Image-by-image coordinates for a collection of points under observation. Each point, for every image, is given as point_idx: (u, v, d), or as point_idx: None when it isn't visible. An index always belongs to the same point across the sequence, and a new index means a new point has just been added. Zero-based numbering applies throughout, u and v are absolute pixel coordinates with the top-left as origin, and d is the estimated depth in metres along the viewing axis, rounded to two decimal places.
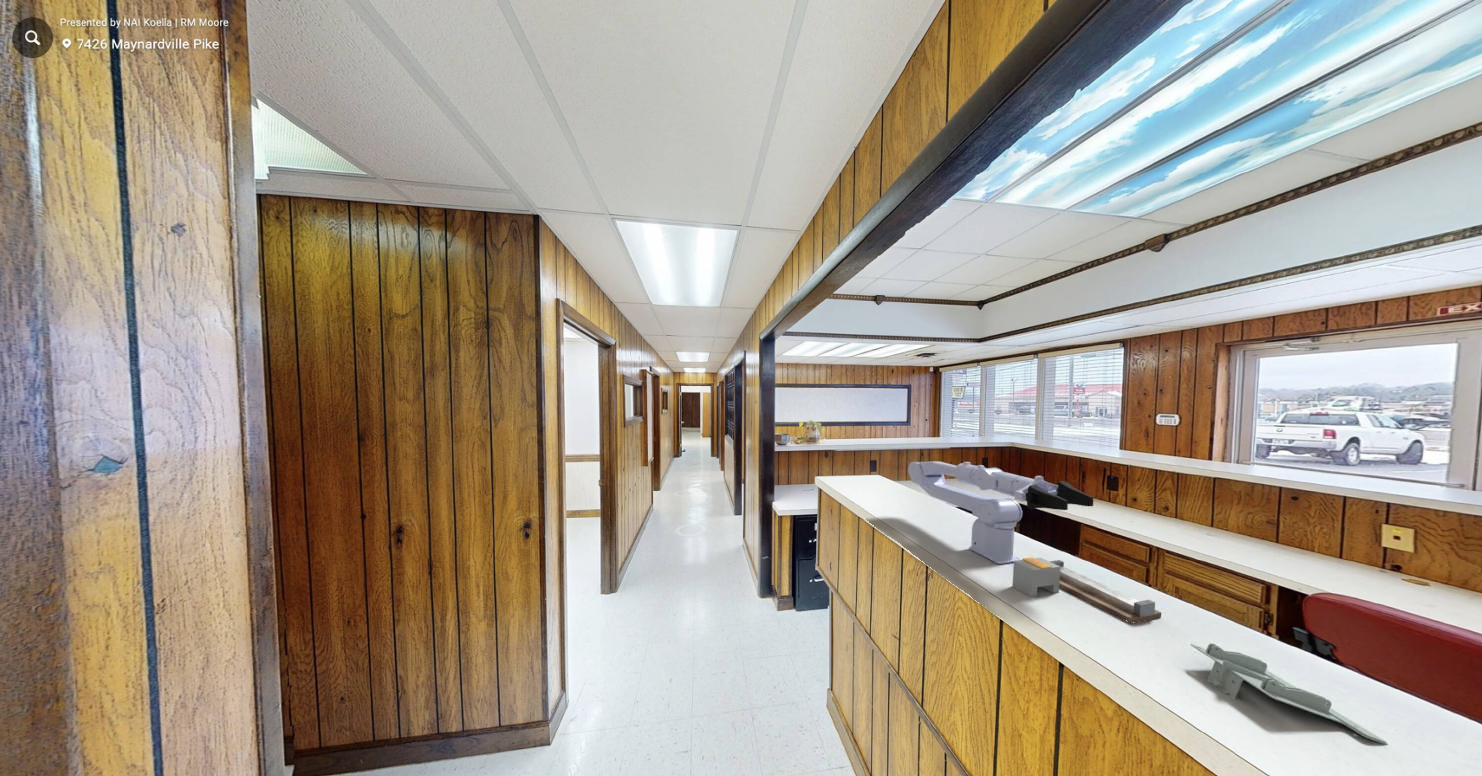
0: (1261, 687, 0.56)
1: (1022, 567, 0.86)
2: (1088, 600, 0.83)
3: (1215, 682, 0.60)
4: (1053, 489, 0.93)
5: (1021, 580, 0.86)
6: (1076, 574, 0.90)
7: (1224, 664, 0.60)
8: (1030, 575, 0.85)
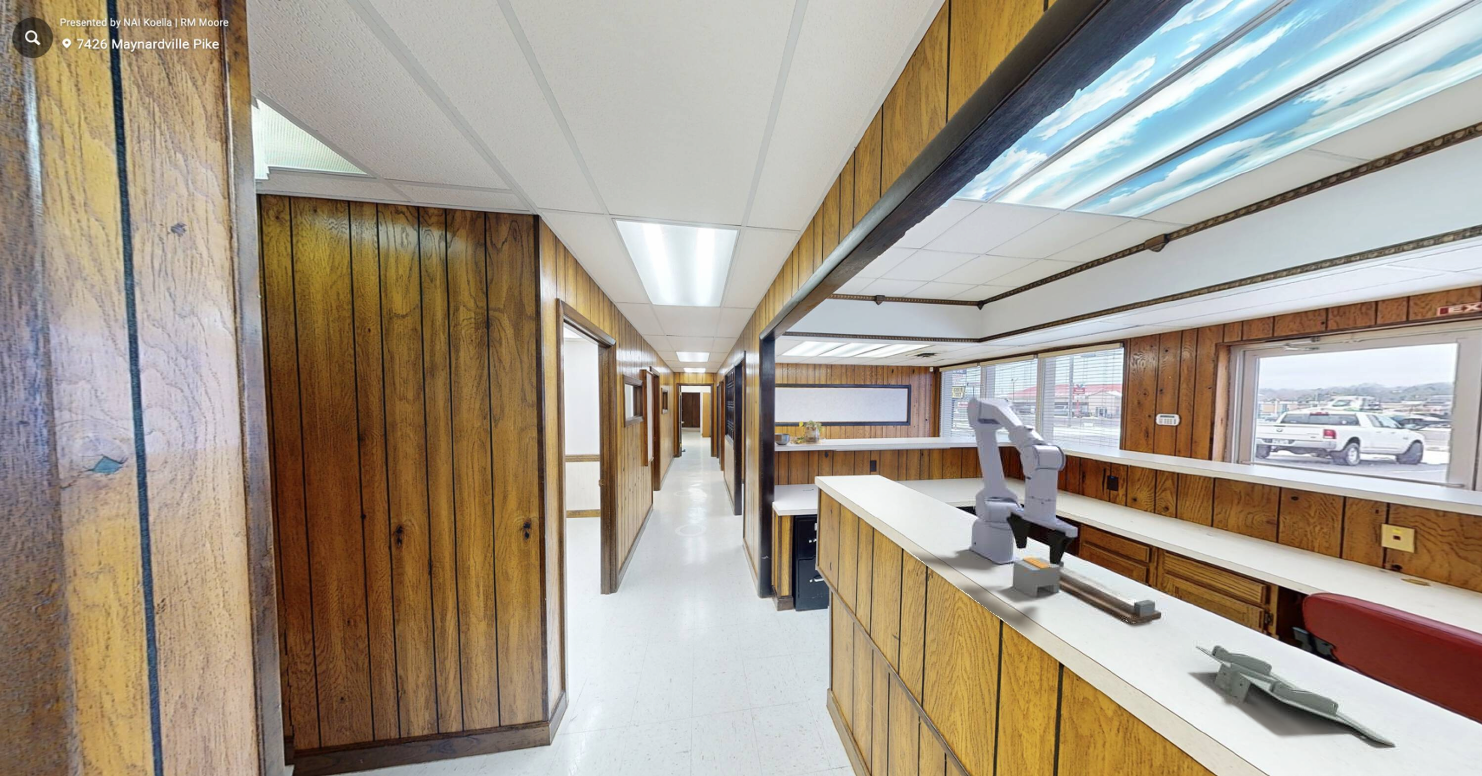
0: (1269, 690, 0.56)
1: (1022, 567, 0.86)
2: (1088, 600, 0.83)
3: (1222, 685, 0.59)
4: None
5: (1021, 580, 0.86)
6: (1076, 574, 0.90)
7: (1231, 667, 0.59)
8: (1030, 575, 0.85)
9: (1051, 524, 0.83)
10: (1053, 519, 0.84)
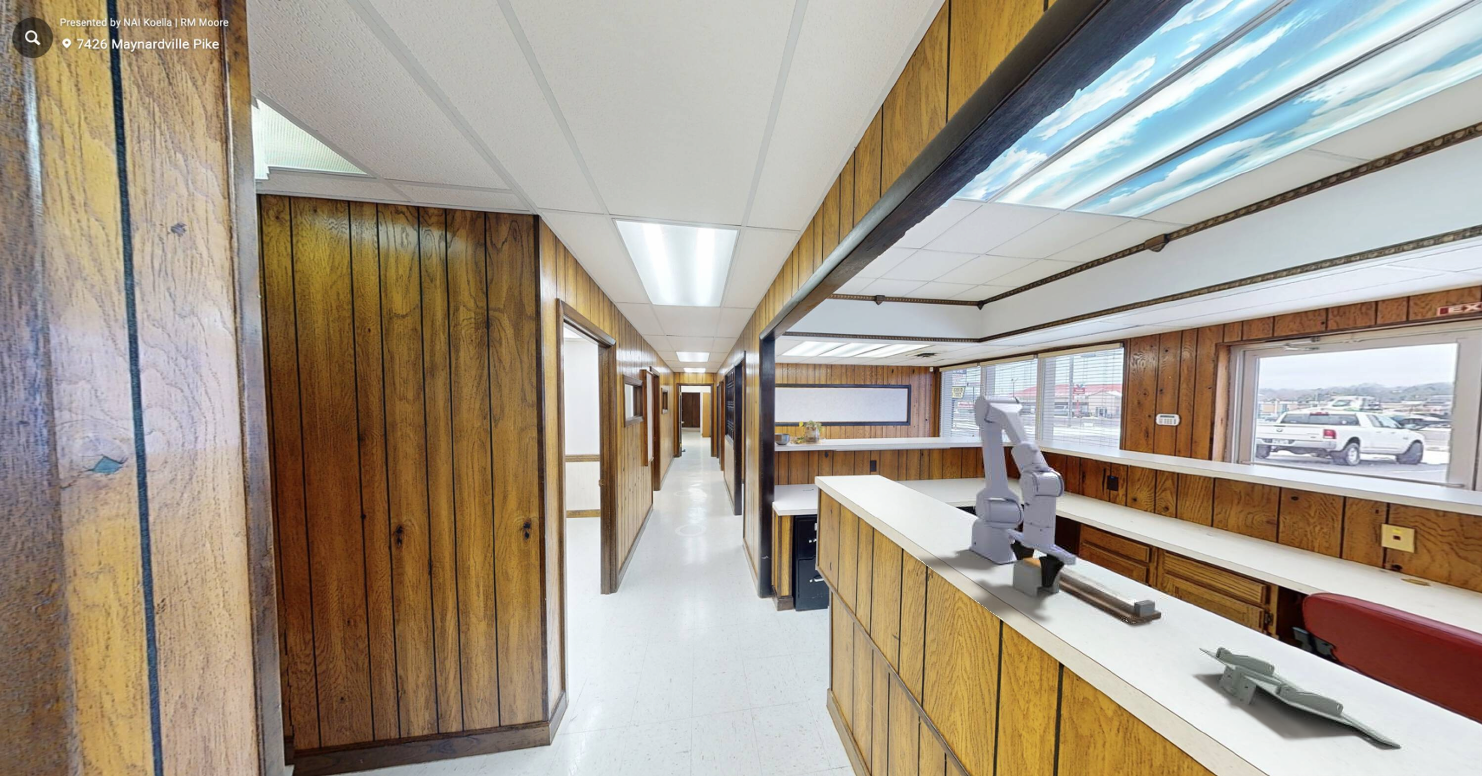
0: (1275, 693, 0.55)
1: (1022, 566, 0.86)
2: (1088, 600, 0.83)
3: (1228, 688, 0.59)
4: None
5: (1021, 580, 0.86)
6: (1076, 574, 0.90)
7: (1236, 669, 0.59)
8: (1030, 575, 0.85)
9: (1049, 551, 0.83)
10: (1051, 546, 0.85)
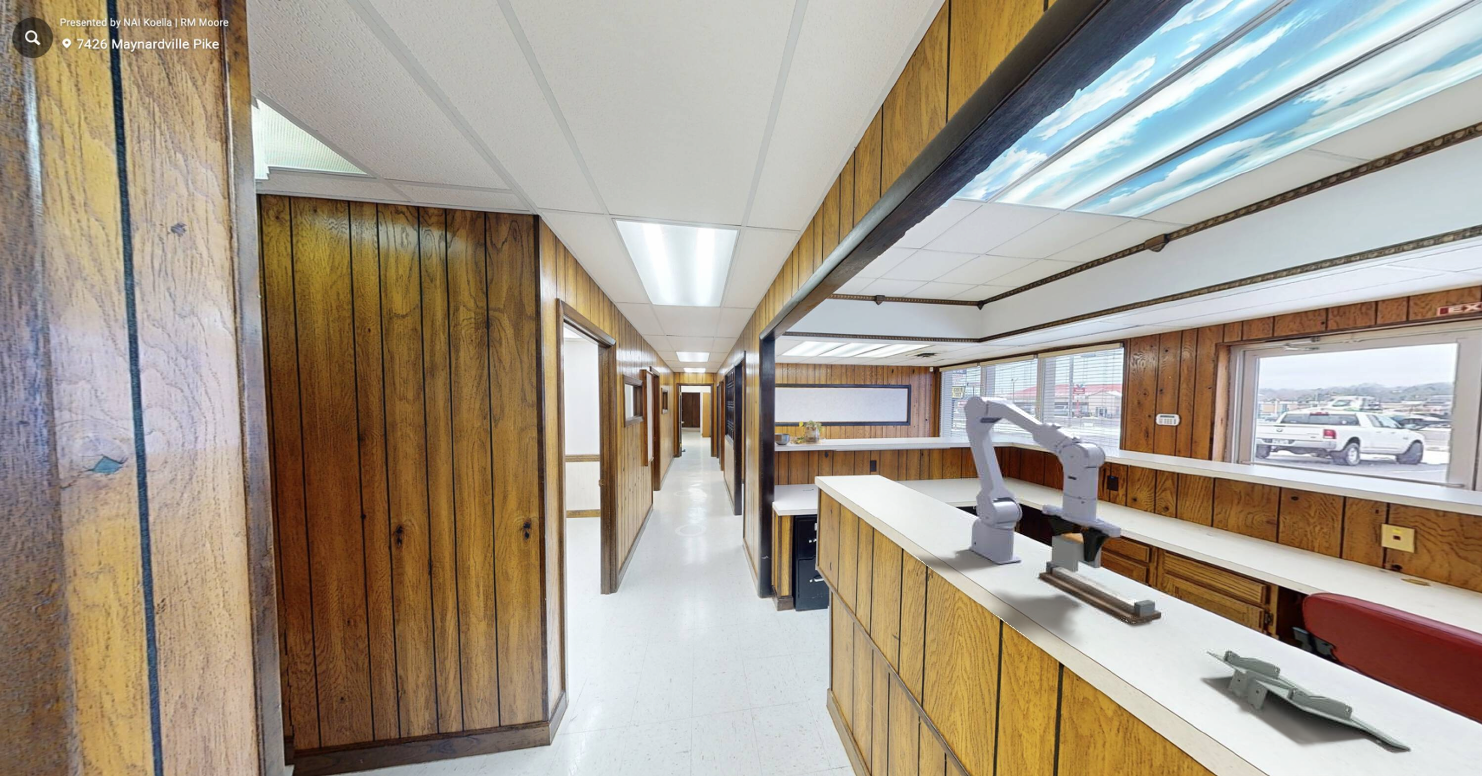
0: (1288, 697, 0.54)
1: (1061, 542, 0.84)
2: (1088, 600, 0.83)
3: (1238, 692, 0.58)
4: None
5: (1061, 555, 0.84)
6: (1076, 574, 0.90)
7: (1247, 673, 0.58)
8: (1070, 550, 0.83)
9: (1092, 524, 0.81)
10: (1094, 519, 0.82)
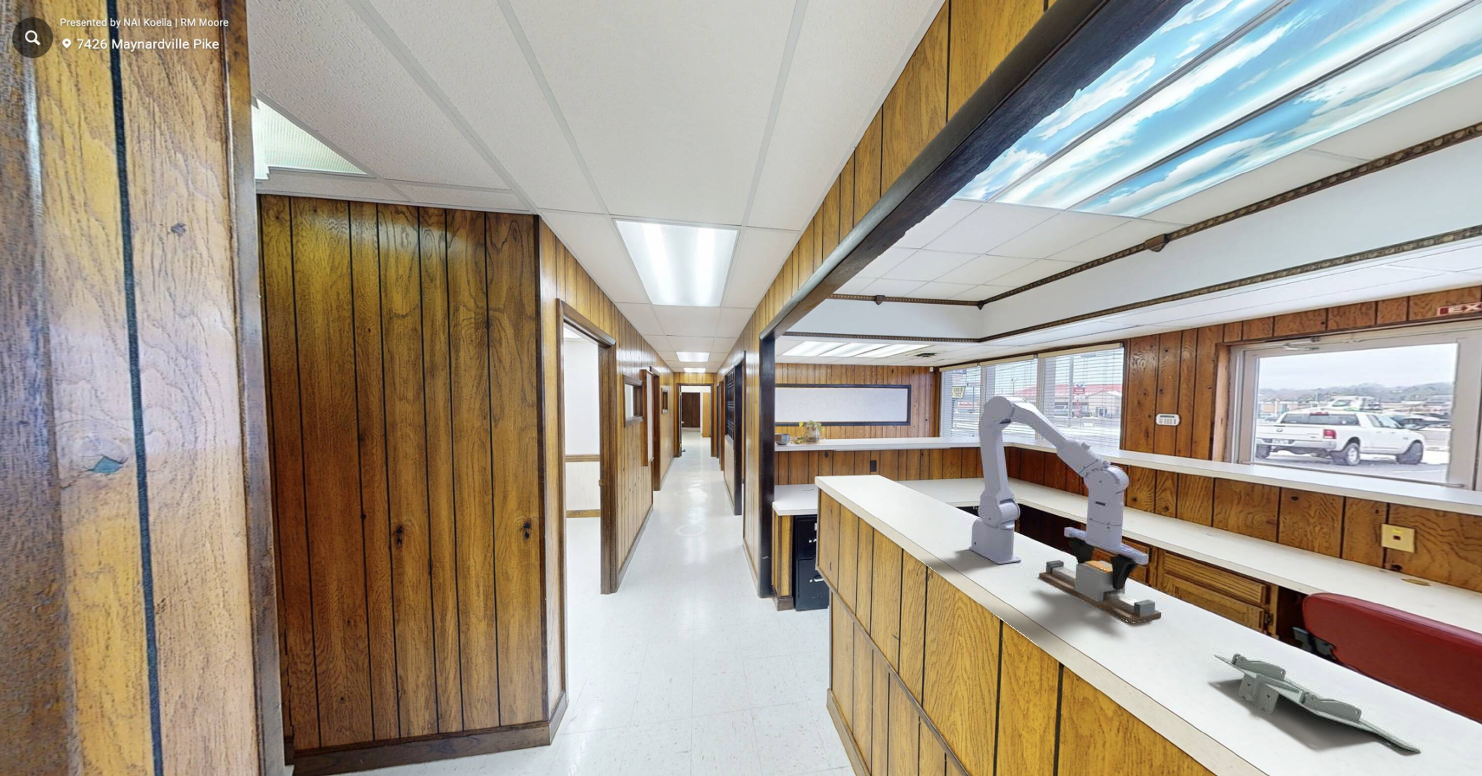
0: (1300, 702, 0.54)
1: (1086, 570, 0.83)
2: (1088, 600, 0.83)
3: (1249, 697, 0.57)
4: None
5: (1085, 584, 0.83)
6: None
7: (1257, 678, 0.57)
8: (1096, 580, 0.82)
9: (1119, 550, 0.80)
10: (1119, 544, 0.82)
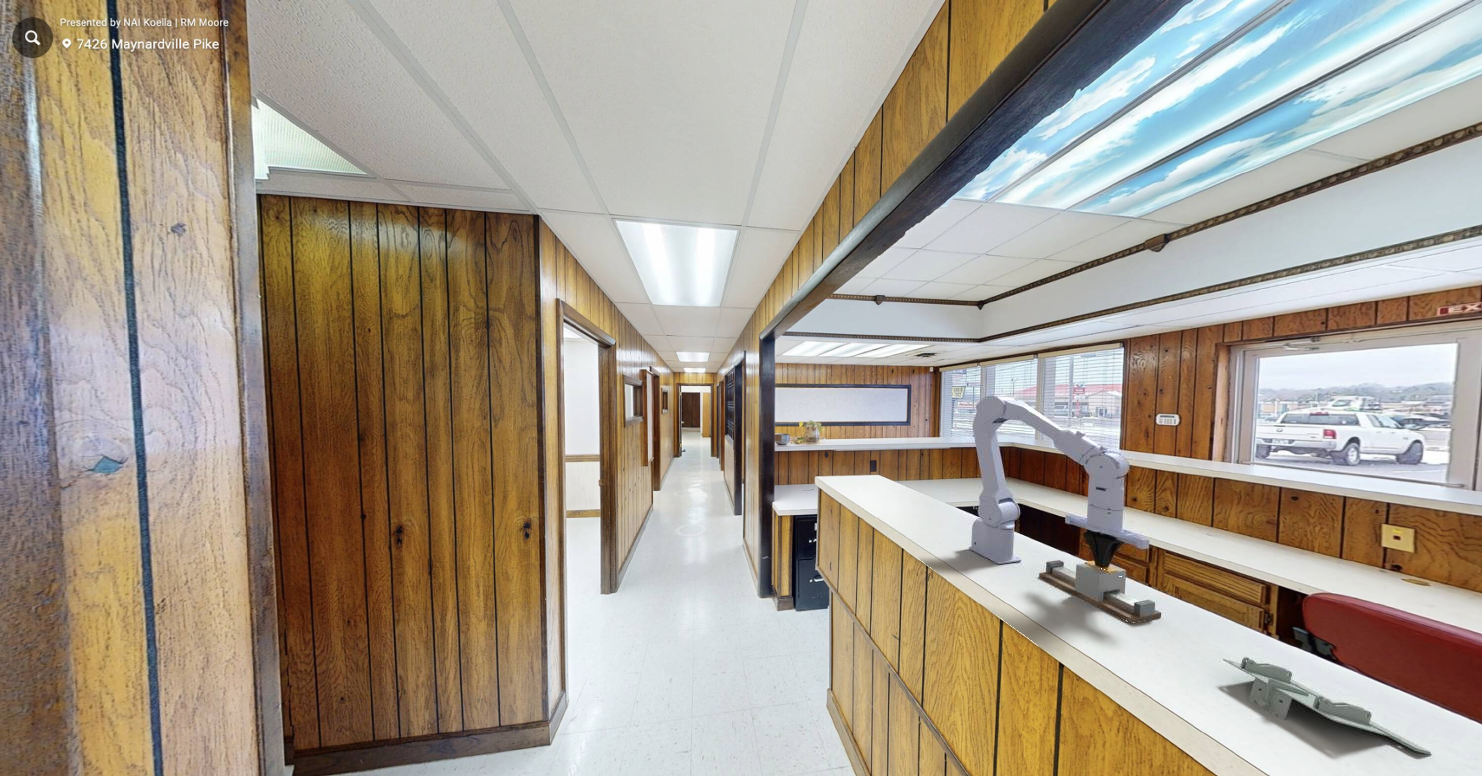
0: (1314, 707, 0.53)
1: (1086, 570, 0.83)
2: (1088, 600, 0.83)
3: (1262, 703, 0.56)
4: None
5: (1085, 584, 0.83)
6: None
7: (1269, 682, 0.56)
8: (1096, 580, 0.82)
9: (1120, 535, 0.80)
10: (1120, 530, 0.81)
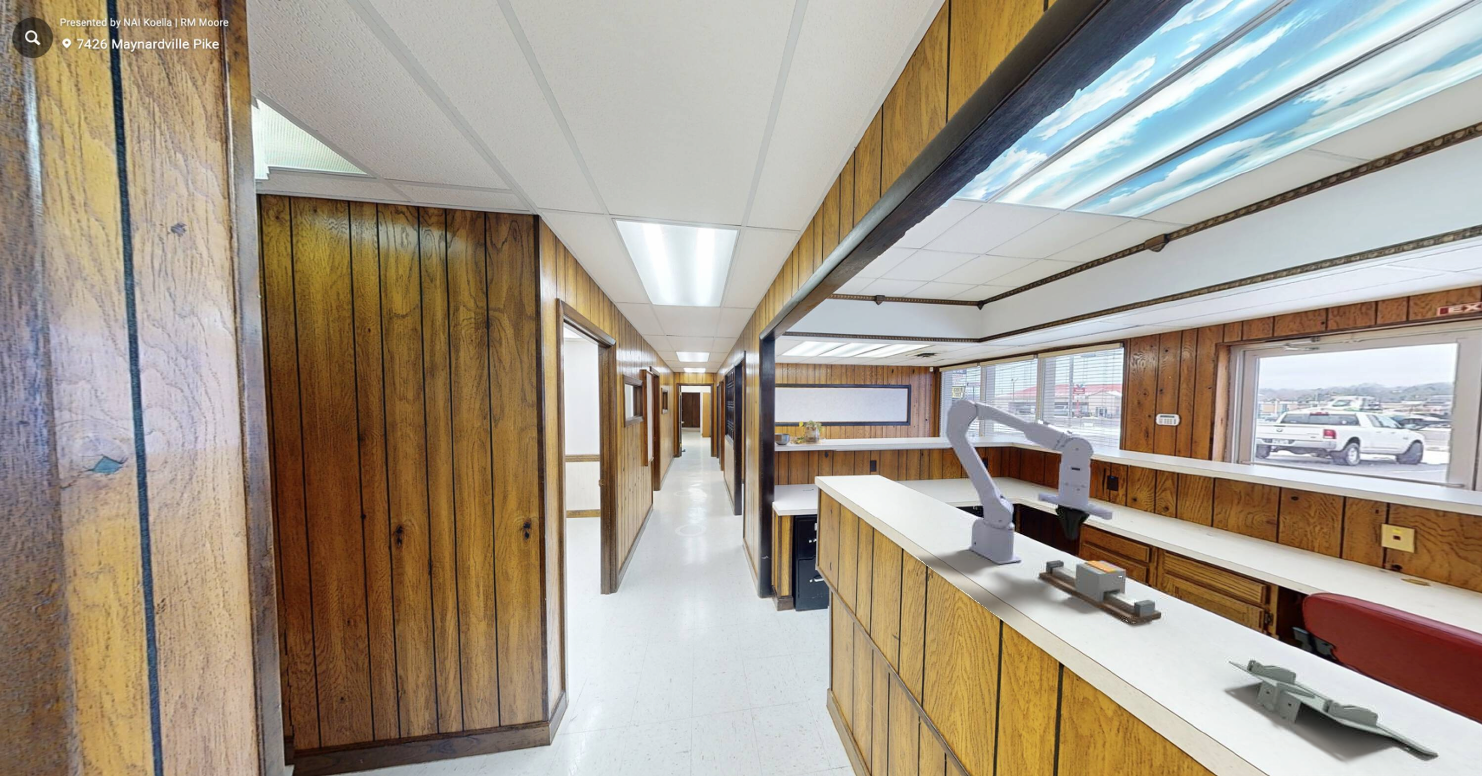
0: (1324, 710, 0.52)
1: (1086, 570, 0.83)
2: (1088, 600, 0.83)
3: (1270, 706, 0.55)
4: None
5: (1085, 584, 0.83)
6: None
7: (1278, 686, 0.56)
8: (1096, 580, 0.82)
9: (1088, 509, 0.89)
10: (1087, 504, 0.91)
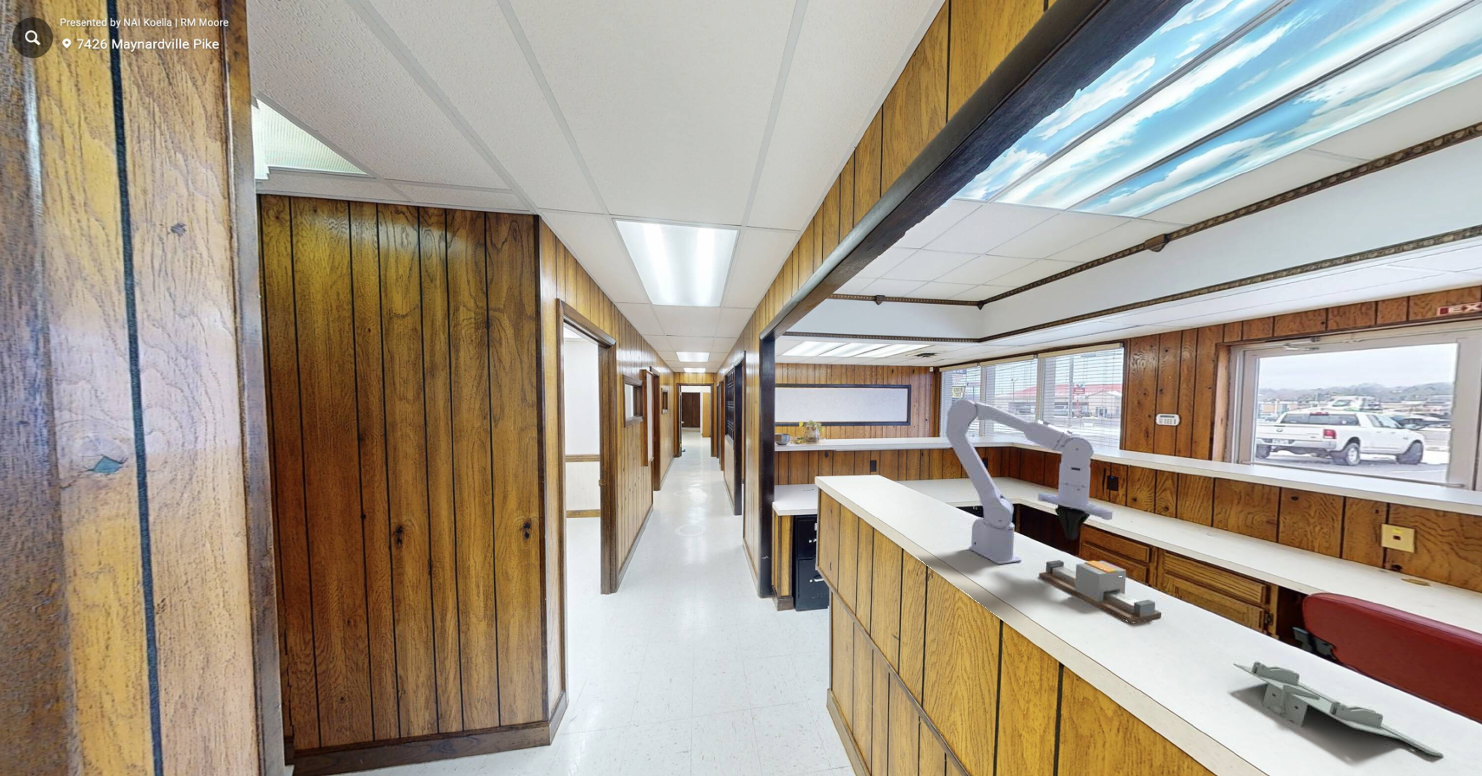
0: (1331, 713, 0.52)
1: (1086, 570, 0.83)
2: (1088, 600, 0.83)
3: (1277, 709, 0.55)
4: None
5: (1085, 584, 0.83)
6: None
7: (1284, 688, 0.55)
8: (1096, 580, 0.82)
9: (1088, 509, 0.89)
10: (1087, 504, 0.91)
